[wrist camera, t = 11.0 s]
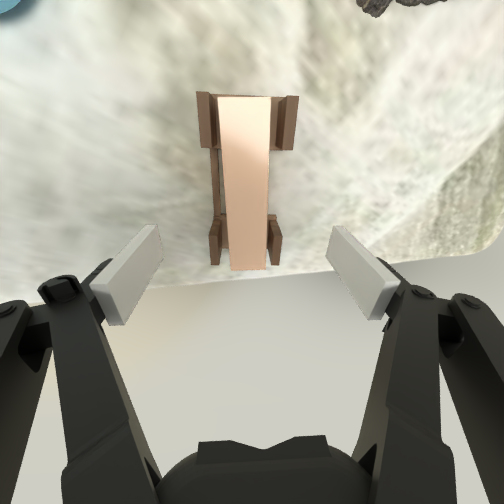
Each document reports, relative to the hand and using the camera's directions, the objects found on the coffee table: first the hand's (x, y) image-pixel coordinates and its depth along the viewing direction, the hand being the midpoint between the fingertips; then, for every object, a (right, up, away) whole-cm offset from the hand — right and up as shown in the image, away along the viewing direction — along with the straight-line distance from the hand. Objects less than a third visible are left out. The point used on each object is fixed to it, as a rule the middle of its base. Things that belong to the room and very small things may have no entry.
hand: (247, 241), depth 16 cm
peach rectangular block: (-1, +9, +16) cm, 18 cm away
